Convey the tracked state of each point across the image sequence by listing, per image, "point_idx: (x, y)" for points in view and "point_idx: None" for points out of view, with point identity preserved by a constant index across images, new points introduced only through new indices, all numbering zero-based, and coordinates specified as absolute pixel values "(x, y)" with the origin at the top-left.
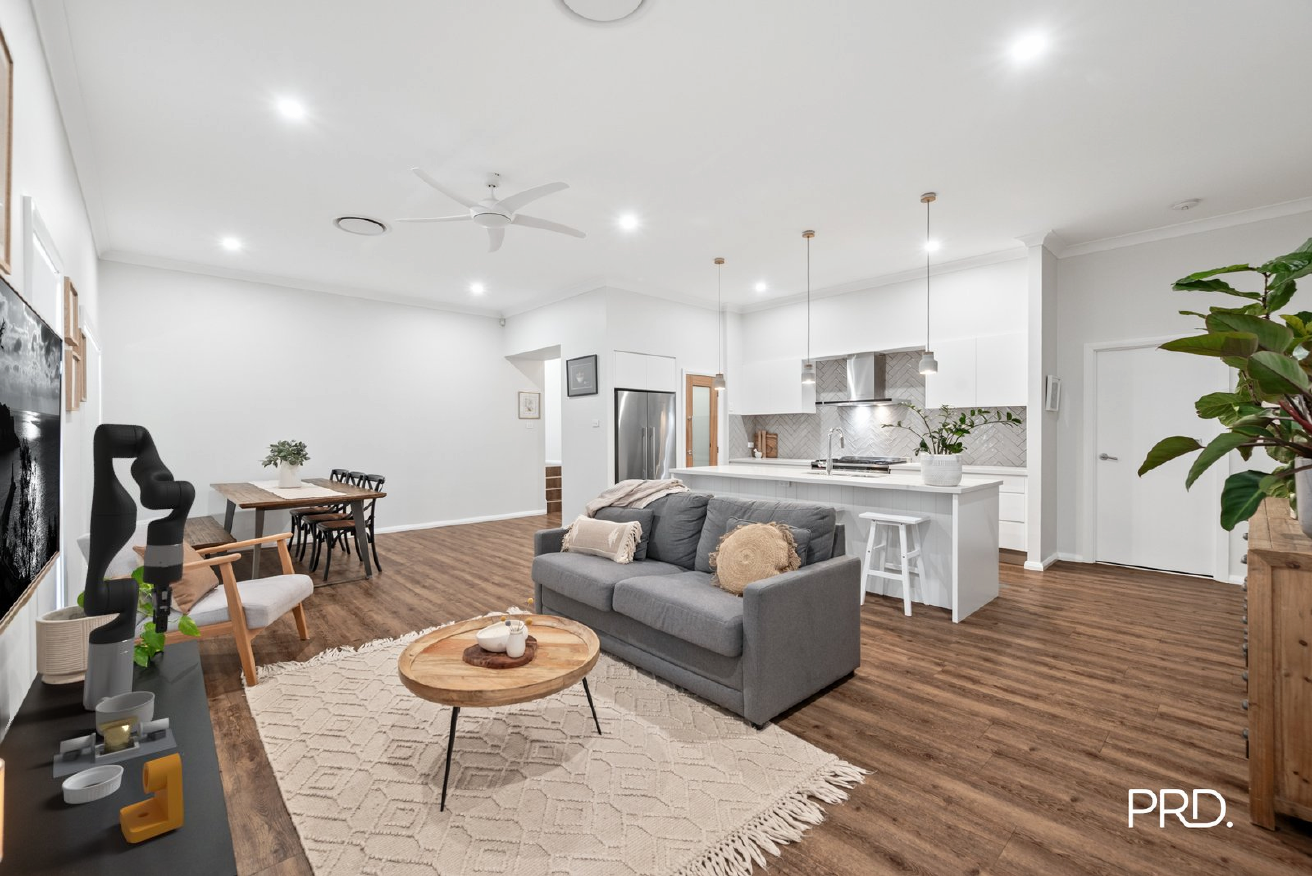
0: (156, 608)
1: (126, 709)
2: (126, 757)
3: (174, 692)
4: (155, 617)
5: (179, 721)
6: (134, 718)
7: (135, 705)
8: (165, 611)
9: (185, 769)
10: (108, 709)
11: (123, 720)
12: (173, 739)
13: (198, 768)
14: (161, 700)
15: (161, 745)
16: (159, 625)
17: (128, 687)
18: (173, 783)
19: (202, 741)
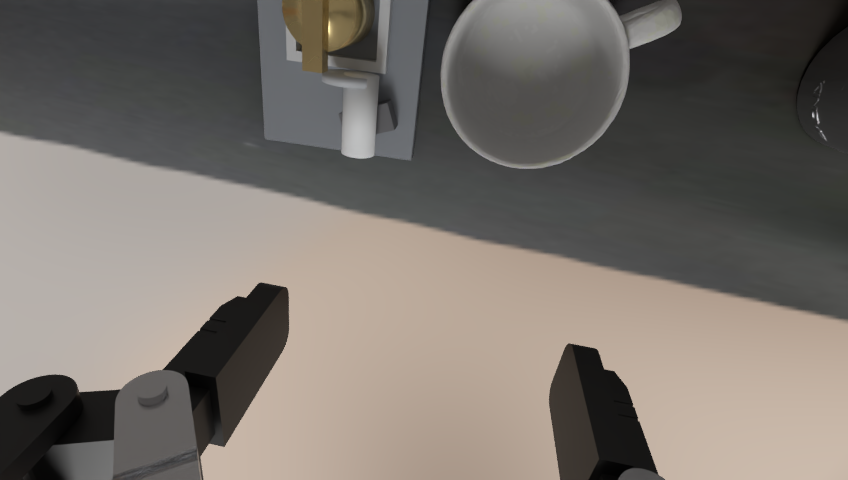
0: (114, 473)
1: (444, 63)
2: (273, 23)
3: (755, 250)
4: (575, 395)
5: (486, 195)
6: (302, 61)
7: (587, 116)
8: (23, 478)
9: (153, 122)
10: (605, 32)
11: (302, 26)
12: (321, 145)
13: (143, 144)
14: (718, 207)
15: (299, 113)
16: (199, 335)
17: (845, 145)
18: None
19: (300, 195)
